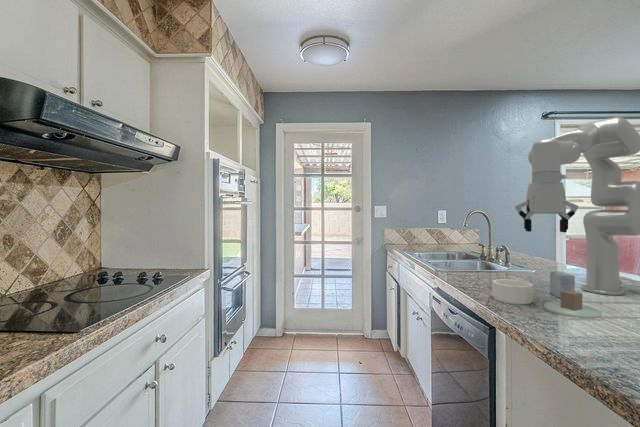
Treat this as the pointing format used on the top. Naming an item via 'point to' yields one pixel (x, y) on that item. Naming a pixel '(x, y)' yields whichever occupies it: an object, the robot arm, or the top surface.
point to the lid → (572, 306)
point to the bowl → (513, 291)
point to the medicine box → (561, 282)
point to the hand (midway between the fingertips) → (545, 231)
